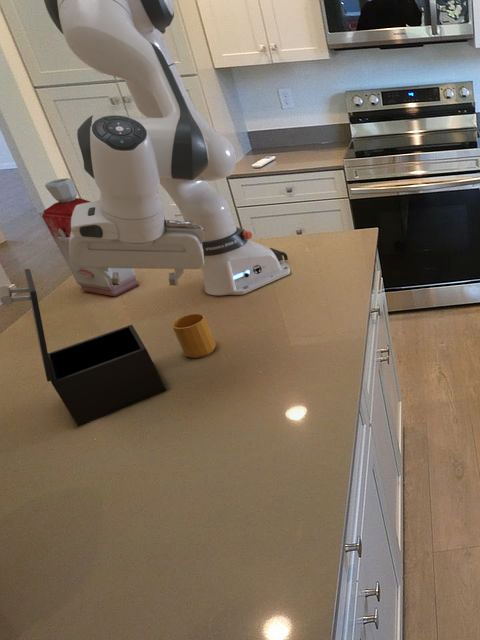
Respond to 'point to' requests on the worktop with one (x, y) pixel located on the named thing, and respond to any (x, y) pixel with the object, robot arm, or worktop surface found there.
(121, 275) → the bottle
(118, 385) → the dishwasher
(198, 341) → the golden yellow cup
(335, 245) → the worktop surface
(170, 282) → the robot arm
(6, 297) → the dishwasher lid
